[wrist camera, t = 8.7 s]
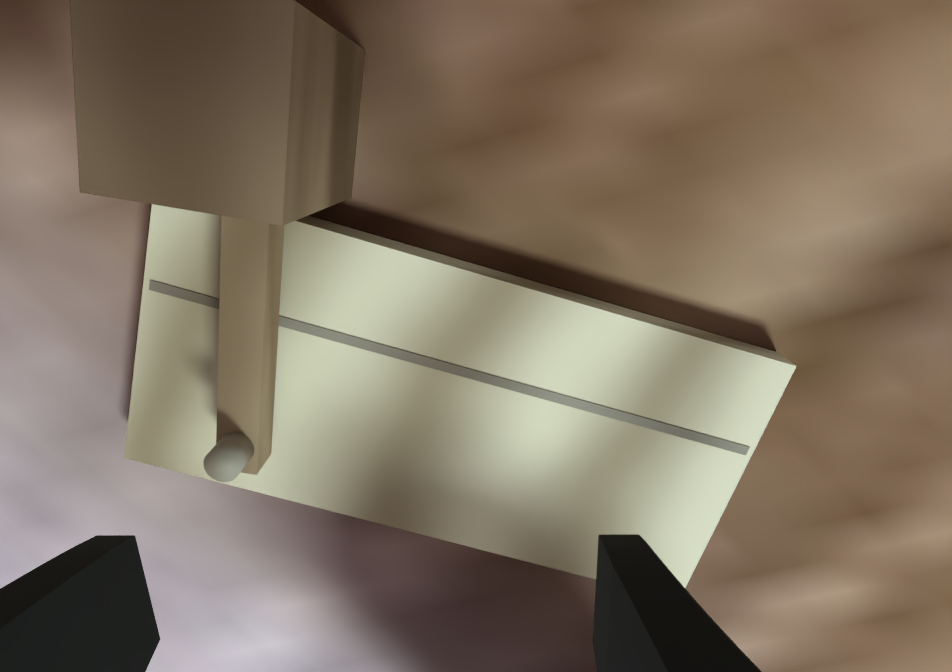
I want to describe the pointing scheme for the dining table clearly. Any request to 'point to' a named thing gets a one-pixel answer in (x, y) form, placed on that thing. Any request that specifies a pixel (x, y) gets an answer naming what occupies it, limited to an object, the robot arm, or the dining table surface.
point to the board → (456, 397)
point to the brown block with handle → (222, 156)
